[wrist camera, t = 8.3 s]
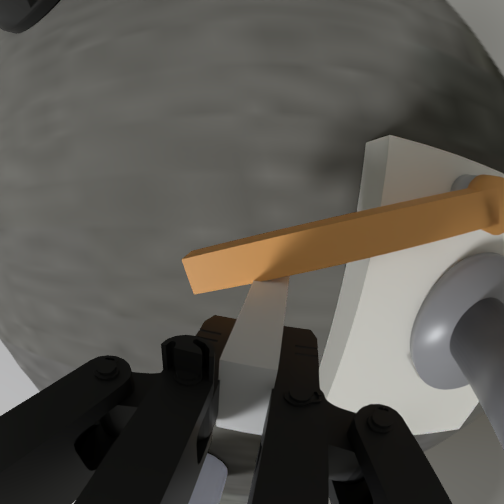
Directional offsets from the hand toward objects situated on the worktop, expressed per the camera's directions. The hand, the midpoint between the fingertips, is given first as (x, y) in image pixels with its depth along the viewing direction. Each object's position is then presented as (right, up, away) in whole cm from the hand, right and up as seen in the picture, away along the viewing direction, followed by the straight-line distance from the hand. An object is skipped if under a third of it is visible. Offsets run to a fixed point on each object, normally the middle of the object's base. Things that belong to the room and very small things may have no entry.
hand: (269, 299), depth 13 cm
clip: (+4, +3, -2) cm, 5 cm away
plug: (+13, -1, +5) cm, 14 cm away
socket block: (+12, -1, +5) cm, 14 cm away
